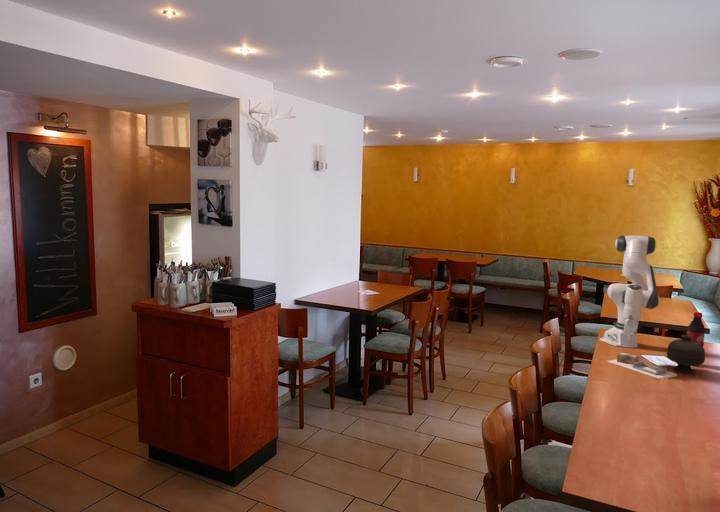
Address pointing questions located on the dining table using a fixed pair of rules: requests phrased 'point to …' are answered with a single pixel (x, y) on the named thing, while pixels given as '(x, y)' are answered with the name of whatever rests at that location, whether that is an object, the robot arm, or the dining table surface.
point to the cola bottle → (697, 329)
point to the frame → (627, 358)
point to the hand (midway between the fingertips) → (629, 339)
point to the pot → (685, 354)
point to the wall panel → (647, 369)
